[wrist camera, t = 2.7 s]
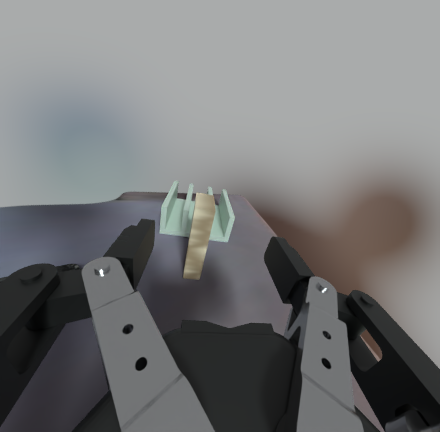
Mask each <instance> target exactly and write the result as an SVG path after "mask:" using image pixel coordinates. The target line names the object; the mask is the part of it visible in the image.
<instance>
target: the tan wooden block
mask: <svg viewBox="0 0 440 432" xmlns="http://www.w3.org/2000/svg"><path fill="white" fill-rule="evenodd" d="M215 212H216V209H215V202H214V195H208V194H203V193H197V194H196V200H195V206H194V212H193V218H192V224H191V230H190V236H189V242H188V248H187V253H186V260H185V267H184V275H183V278H185V279H197V280H200V276H201V271H202V267H203V263H204V258H205V254H206V250H207V246H208V241H209V237H210V233H211V229H212V224H213V220H214V216H215Z"/></svg>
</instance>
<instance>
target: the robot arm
mask: <svg viewBox="0 0 440 432" xmlns="http://www.w3.org/2000/svg"><path fill="white" fill-rule="evenodd" d="M154 237H155V220H149V219H141V220H140V222H139V223H138V225H137V226H133V225H131V226H129V227H128V228H126V229H124V230H123V232H122V233H121V234H120V236H119V237H118V238H117V239H116V241H115V242H114V243H113V244H112V246H111V247H110V248H109V250H108V251H107V252H106V253H105V255H104V256H103V257H101V258H97V259H95V260H92V261H91V262H89V263H88V264H86V265H85V266H84V268H83V269H79V270H72V271H64V272H58V271H57V268H56V267H55V266H54V265H51V264H35V265H31V266H27V267H24V268H22V269H20V270H18V271H16V272H14V273H12V274H11V275H10V276H8V277H7V278H6V279H5V280H3V281H2V282H1V283H0V427H1V425H2V424H3V422H4V420H5V419H6V417H7V416H8V414H9V412H10V411H11V409H12V408H13V406H14V405H15V403H16V401H17V400H18V398H19V397H20V395H21V394H22V392H23V390H24V389H25V387H26V386H27V384H28V382H29V381H30V379H31V378H32V376H33V375H34V373H35V371H36V370H37V368H38V367H39V365H40V364H41V362H42V360H43V359H44V357H45V356H46V354H47V353H48V351H49V349H50V348H51V346H52V345H53V343H54V341H55V340H56V338H57V337H58V335H59V334H60V332H61V330H62V329H63V327H64V326H65V324H66V323H69V322H73V321H77V320H81V319H85V318H90V317H91V318H92V323H93V327H94V331H95V335H96V339H97V343H98V347H99V351H100V356H101V360H102V364H103V369H104V373H105V377H106V381H107V385H108V389H109V391H108V393H107V394H106V395H105V396H104V397H103V398H102V399H101V400H100V401H99V402H98V403H97V404H96V406H95V407H94V408H93V409H92V410H91V411H90V412H89V413H88V414H87V415H86V416H85V418H84V419H83V420H82V421H81V422H80V423H79V424H78V425H77V426H76V427H75V428H74V430H73V431H72V432H380V431H379V430H378V429H377V428H376V427H375V426H374V425H373V424H372V423H371V422H370V421H369V420H368V419H367V418H366V417H365V416H364V415H363V413H362V412H361V411H360V410H359V409H358V408H357V407H356V406H355V405H354V401H353V390H352V379H351V372H352V374H353V376H354V377H355V379H356V381H357V383H358V385H359V386H360V388H361V390H362V392H363V393H364V395H365V397H366V399H367V401H368V402H369V404H370V406H371V408H372V410H373V411H374V413H375V415H376V417H377V418H378V420H379V422H380V424H381V426H382V427H383V429H384V431H385V432H440V369H439V368H438V367H437V366H436V365H435V364H434V362H433V361H431V359H430V358H429V357H428V356H427V355H426V354H425V353H424V352H423V351H422V350H421V349H420V348H419V347H418V346H417V344H416V343H414V341H413V340H412V339H411V338H410V337H409V336H408V335H407V334H406V333H405V331H404V330H403V329H402V328H401V327H400V326H399V325H398V324H397V323H396V322H395V321H394V320H393V319H392V318H391V317H390V316H389V314H388V313H387V312H386V311H385V310H384V309H383V308H382V307H381V306H380V305H379V304H378V303H377V302H376V301H375V300H374V299H373V298H372V297H370V296H369V295H367V294H365V293H363V292H361V291H358V290H353V291H352V292H351V293H350V294H349V295H348V296H347V295H344V294H341V293H338V292H336V290H335V288H334V287H333V286H332V285H331V284H330V283H329V282H327V281H326V280H324V279H322V278H319V277H315V275H314V274H313V273H312V271H311V270H310V269H309V267H308V266H307V265H306V263H305V262H304V261H303V259H302V258H301V257H300V255H299V254H298V252H297V251H296V250H295V249H294V248H292V247H291V246H290V245H289V244H288V243H287V241H286V240H285V239H284V238H280V237H272V238H271V240H270V242H269V245H268V247H267V249H266V252H265V255H264V261H265V264H266V266H267V268H268V270H269V273H270V275H271V277H272V279H273V282H274V284H275V286H276V288H277V291H278V293H279V295H280V297H281V300H282V302H283V303H284V304H292V308H291V310H290V313H289V317H288V321H287V325H286V329H285V332H284V336H282V335H280V334H278V333H275V332H274V331H273V328H272V325H271V324H266V323H249V324H245V325H241V326H237V327H234V328H226V327H223V326H220V325H217V324H213V323H210V322H207V321H191V320H182V325H181V328H179V329H175V330H173V331H170V332H168V333H167V334H165V335H163V336H161V334H160V332H159V330H158V328H157V326H156V324H155V322H154V320H153V318H152V316H151V314H150V312H149V310H148V308H147V306H146V304H145V302H144V300H143V298H142V296H141V294H140V293H139V291H135V290H136V288H137V285H138V283H139V280H140V278H141V276H142V273H143V271H144V269H145V266H146V264H147V261H148V259H149V257H150V254H151V252H152V250H153V246H154ZM366 329H367V331H368V332H369V333H370V334H371V336H372V337H373V339H374V340H375V341H376V343H377V344H378V345H379V347H380V349H381V351H382V359H381V360H380V361H379V362H378V361H377V360H376V358H375V357H374V356H373V354H372V353H371V351H370V350H369V348H368V347H367V346H366V344H365V343H364V341H363V340H362V338H361V337H360V335H361V334H362V333H363V332H364V331H365V330H366Z"/></svg>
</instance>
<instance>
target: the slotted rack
mask: <svg viewBox="0 0 440 432" xmlns="http://www.w3.org/2000/svg"><path fill="white" fill-rule="evenodd" d="M178 183H179V182H178V181H174V183H173V185H172V187H171V189H170V191H169V193H168V195H167V197H166V199H165V201H164V203H163V204H162V206H161V221H160V233H161V234H169V235H176V236H184V237H189V236H190V230H191V224H192V218H193V212H194V206H195V201H191V199H192V192H193V186H194V185H193V184H190V186H189V190H188V194H187V198H186V200H183V199H177V192H178ZM207 194H208V195H213V193H212V188H211V187H208V192H207ZM215 209H216V212H215V216H214V220H213V224H212V229H211V233H210V237H209V240H214V241H222V242H228V239H229V236H230V233H231V229H232V226H233V223H234V219H235V217H234V214H233V211H232V208H231V205H230V201H229V198H228V195H227V192H226V190H222V193H221V197H220V202H219V205H215Z"/></svg>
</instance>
